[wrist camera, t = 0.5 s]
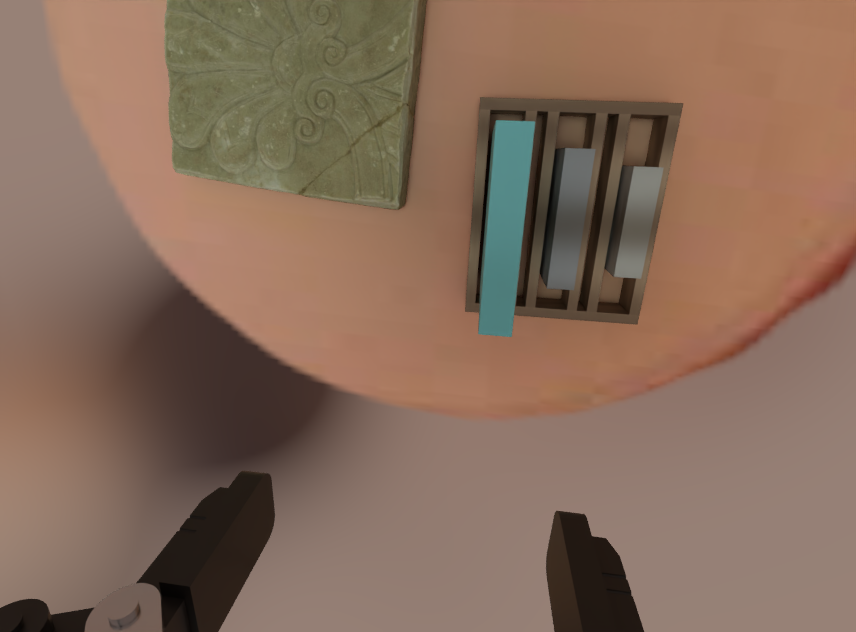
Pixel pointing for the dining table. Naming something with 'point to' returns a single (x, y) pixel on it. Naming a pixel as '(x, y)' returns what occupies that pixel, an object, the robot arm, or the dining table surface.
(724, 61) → the dining table surface
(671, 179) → the dining table surface
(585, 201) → the offcut tall
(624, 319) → the rack
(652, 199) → the offcut short
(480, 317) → the teal sheet
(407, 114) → the decorative tile
